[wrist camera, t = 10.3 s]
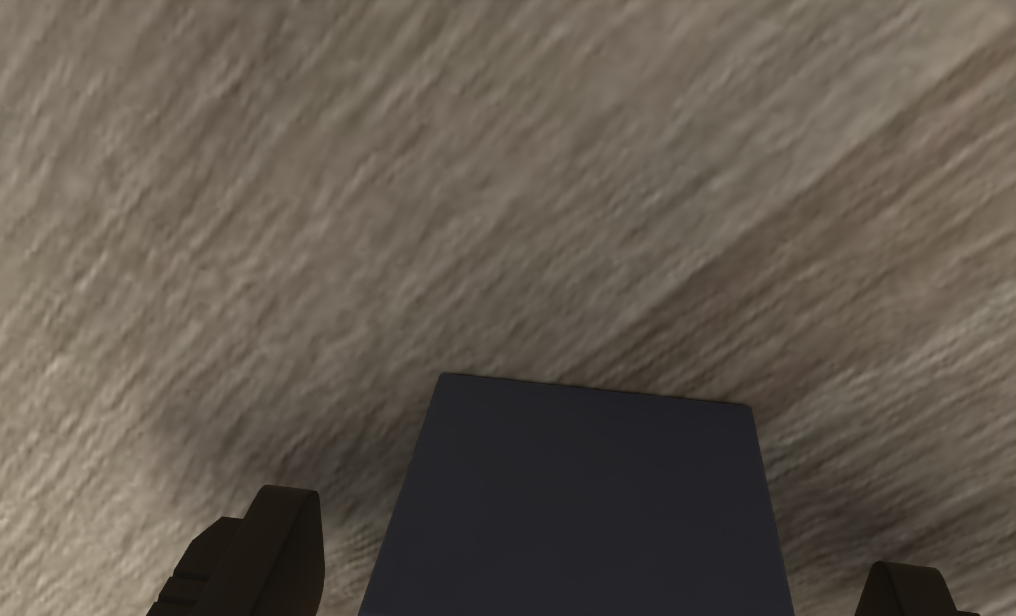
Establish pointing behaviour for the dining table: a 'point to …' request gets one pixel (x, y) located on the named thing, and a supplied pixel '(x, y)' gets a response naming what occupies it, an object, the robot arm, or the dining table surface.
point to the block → (580, 508)
